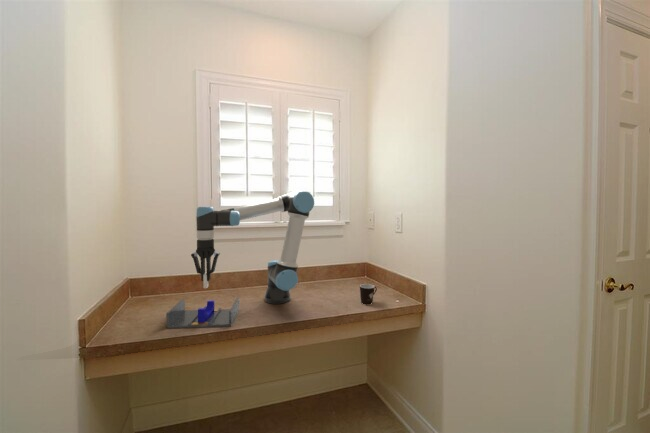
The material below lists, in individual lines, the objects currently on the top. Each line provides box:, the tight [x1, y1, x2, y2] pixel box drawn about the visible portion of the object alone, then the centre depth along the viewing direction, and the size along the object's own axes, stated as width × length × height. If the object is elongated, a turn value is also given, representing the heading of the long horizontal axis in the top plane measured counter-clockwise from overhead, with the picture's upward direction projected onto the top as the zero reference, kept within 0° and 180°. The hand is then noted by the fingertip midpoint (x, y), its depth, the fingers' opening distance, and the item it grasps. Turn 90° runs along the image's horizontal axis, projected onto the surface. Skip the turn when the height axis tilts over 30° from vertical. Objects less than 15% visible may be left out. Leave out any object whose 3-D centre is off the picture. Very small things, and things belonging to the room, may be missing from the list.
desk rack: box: [165, 297, 240, 329], centre depth 133 cm, size 28×18×7 cm, turn 97°
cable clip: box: [197, 300, 215, 322], centre depth 132 cm, size 12×4×6 cm, turn 1°
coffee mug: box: [359, 283, 378, 305], centre depth 158 cm, size 12×9×10 cm
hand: (206, 287), depth 132 cm, fingers closed
